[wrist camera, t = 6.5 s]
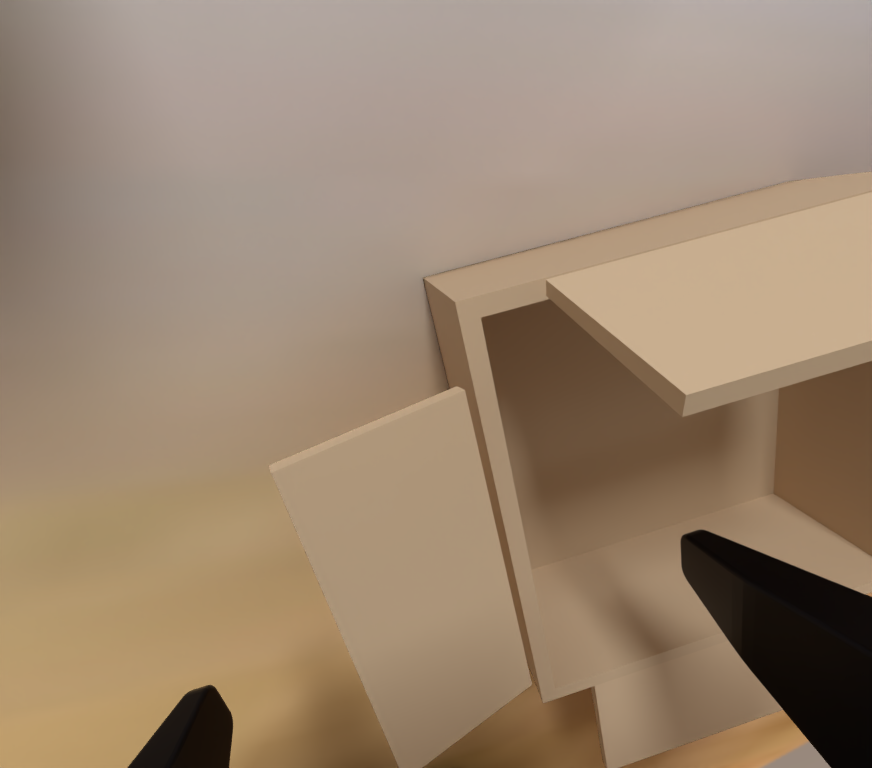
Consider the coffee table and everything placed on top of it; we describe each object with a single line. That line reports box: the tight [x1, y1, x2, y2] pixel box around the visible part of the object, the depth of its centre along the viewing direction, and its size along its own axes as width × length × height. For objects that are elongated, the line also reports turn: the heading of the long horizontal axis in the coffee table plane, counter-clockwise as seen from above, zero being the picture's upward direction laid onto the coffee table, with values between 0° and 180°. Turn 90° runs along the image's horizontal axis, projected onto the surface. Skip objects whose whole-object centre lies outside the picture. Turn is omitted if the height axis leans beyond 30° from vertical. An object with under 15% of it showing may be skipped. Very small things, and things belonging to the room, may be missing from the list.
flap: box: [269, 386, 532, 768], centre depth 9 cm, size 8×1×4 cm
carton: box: [423, 172, 872, 768], centre depth 13 cm, size 15×15×4 cm
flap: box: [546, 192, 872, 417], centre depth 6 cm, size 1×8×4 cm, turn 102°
